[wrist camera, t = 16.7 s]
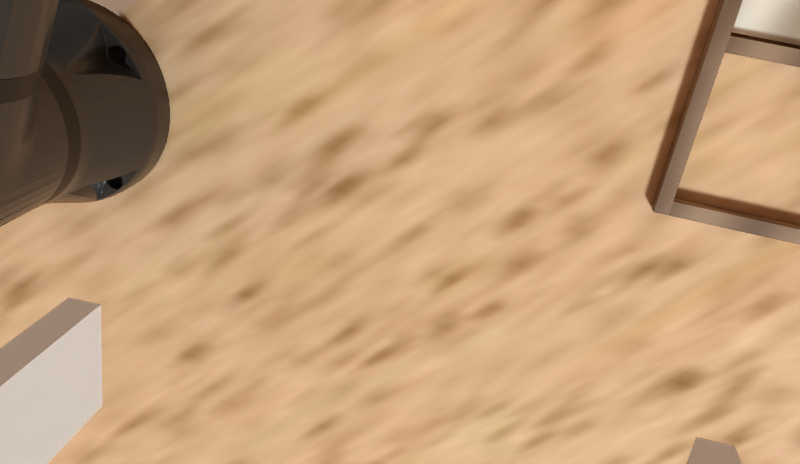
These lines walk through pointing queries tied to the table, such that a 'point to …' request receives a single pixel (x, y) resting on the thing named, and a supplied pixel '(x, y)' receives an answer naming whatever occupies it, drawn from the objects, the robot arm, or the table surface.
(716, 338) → the table surface
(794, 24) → the brown multi-panel picture frame
